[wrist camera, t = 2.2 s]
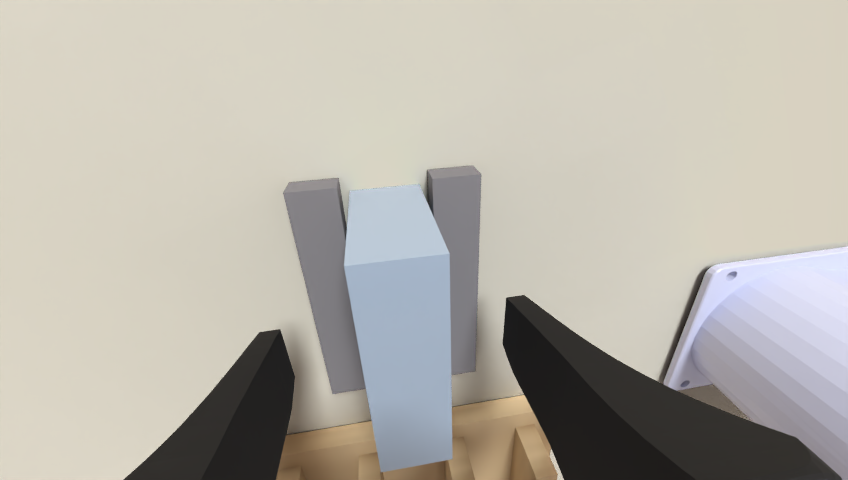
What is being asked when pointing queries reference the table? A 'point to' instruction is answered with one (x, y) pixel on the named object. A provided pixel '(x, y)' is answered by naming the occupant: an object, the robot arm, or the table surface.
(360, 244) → the light blue slab
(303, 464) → the dish rack
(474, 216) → the drying stand
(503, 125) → the table surface
